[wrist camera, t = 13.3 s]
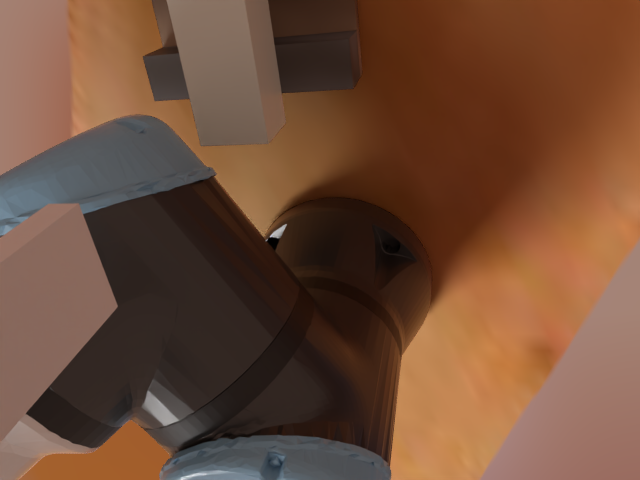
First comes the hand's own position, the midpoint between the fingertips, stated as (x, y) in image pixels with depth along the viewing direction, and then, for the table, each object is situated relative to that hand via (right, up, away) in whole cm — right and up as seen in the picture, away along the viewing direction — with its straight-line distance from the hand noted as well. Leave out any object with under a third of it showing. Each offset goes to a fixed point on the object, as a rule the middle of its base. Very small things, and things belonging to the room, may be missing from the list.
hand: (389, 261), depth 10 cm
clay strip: (-7, +15, +22) cm, 28 cm away
